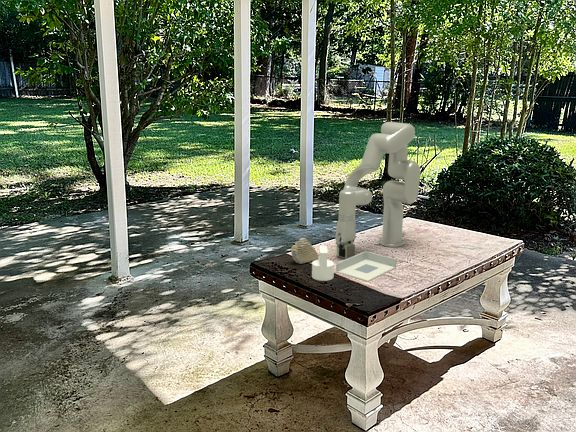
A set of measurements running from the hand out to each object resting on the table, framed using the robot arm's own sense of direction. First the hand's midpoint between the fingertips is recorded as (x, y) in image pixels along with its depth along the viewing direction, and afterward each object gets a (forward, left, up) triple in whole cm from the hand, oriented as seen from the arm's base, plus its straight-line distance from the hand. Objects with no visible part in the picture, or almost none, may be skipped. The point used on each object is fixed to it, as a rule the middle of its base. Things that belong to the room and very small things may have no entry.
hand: (345, 254), depth 250 cm
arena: (+8, +17, -1) cm, 19 cm away
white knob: (+27, +8, -1) cm, 28 cm away
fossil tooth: (+18, -10, -1) cm, 20 cm away
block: (0, 0, -1) cm, 1 cm away
